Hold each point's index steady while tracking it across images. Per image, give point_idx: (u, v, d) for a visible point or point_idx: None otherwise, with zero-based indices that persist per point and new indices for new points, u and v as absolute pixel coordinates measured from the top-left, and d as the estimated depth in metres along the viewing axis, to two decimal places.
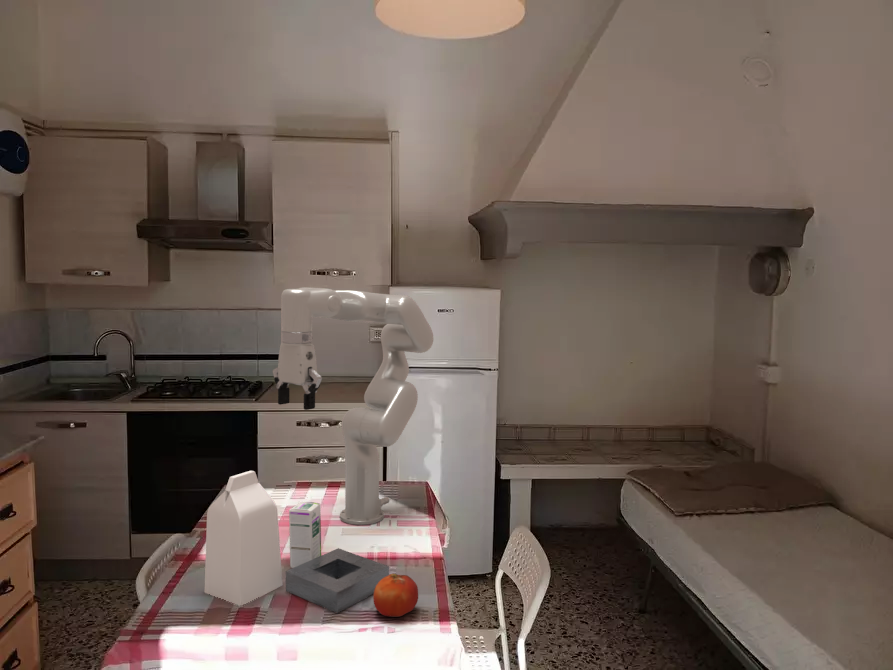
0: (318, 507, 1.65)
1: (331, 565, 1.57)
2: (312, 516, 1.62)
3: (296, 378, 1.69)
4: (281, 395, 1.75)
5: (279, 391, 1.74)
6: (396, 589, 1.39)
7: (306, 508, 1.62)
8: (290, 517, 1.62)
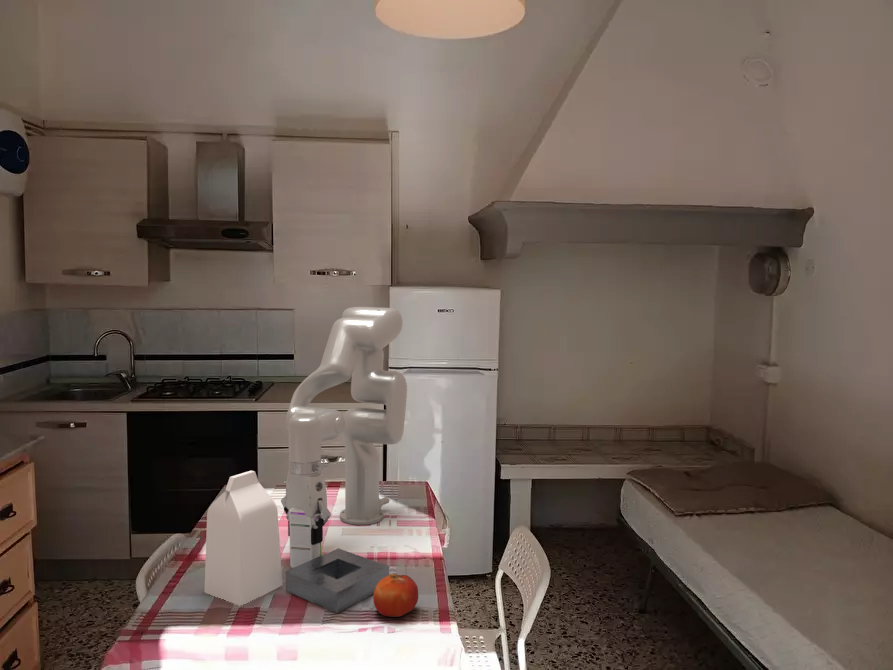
0: None
1: (331, 565, 1.57)
2: None
3: (305, 510, 1.61)
4: None
5: None
6: (396, 589, 1.39)
7: None
8: (290, 517, 1.62)
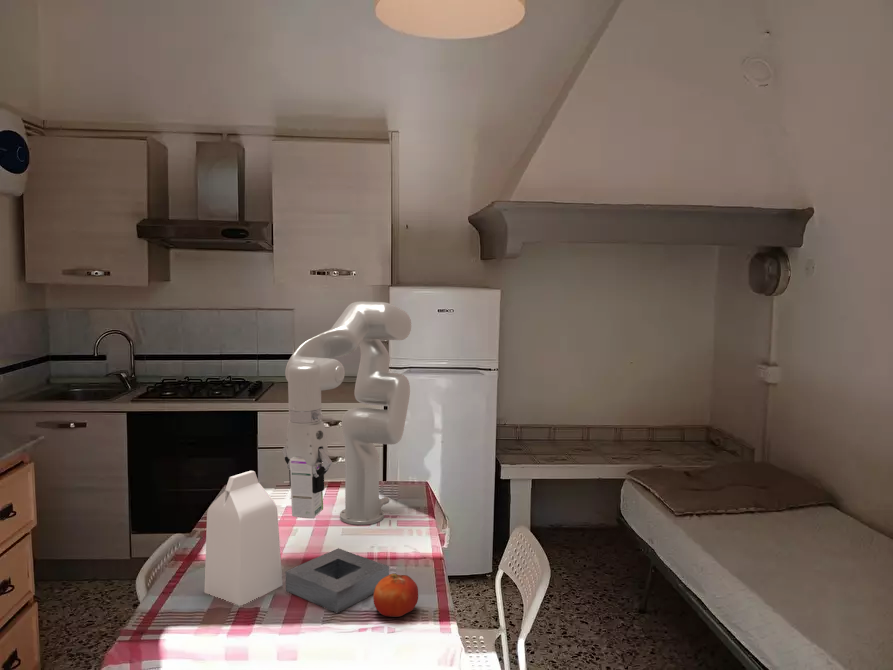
0: None
1: (331, 565, 1.57)
2: None
3: (306, 459, 1.60)
4: None
5: None
6: (396, 589, 1.39)
7: None
8: (291, 466, 1.61)
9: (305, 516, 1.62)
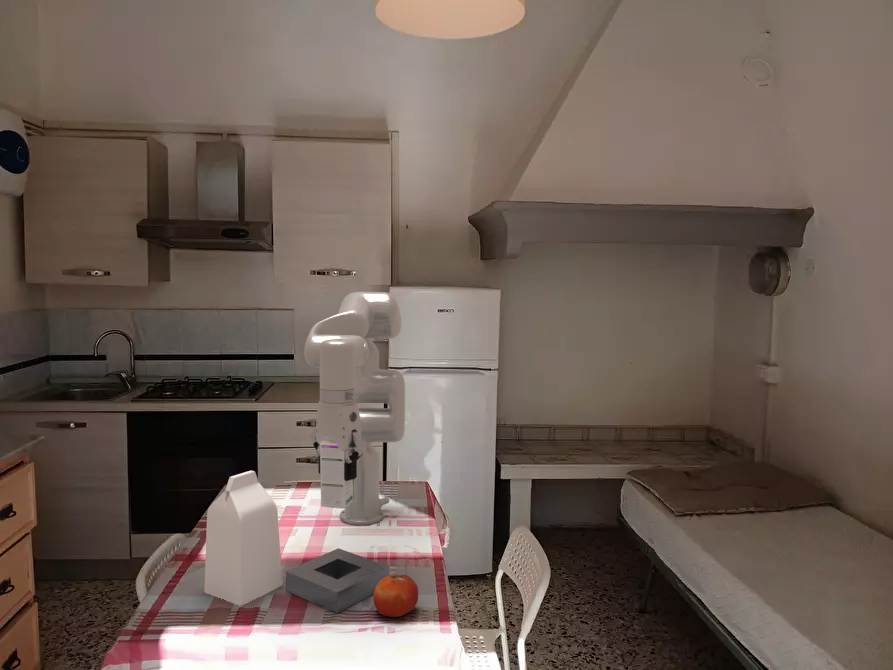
0: None
1: (331, 565, 1.57)
2: None
3: (338, 443, 1.47)
4: None
5: None
6: (396, 589, 1.39)
7: None
8: (321, 450, 1.48)
9: (335, 506, 1.49)
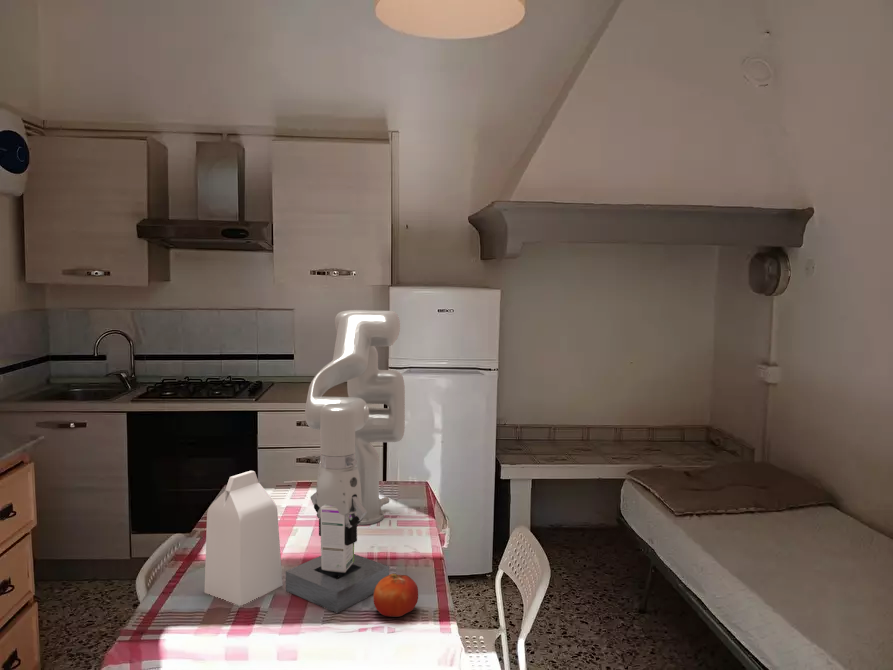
0: None
1: None
2: None
3: (338, 508, 1.48)
4: None
5: (320, 521, 1.53)
6: (396, 589, 1.39)
7: None
8: (321, 515, 1.49)
9: (336, 570, 1.50)
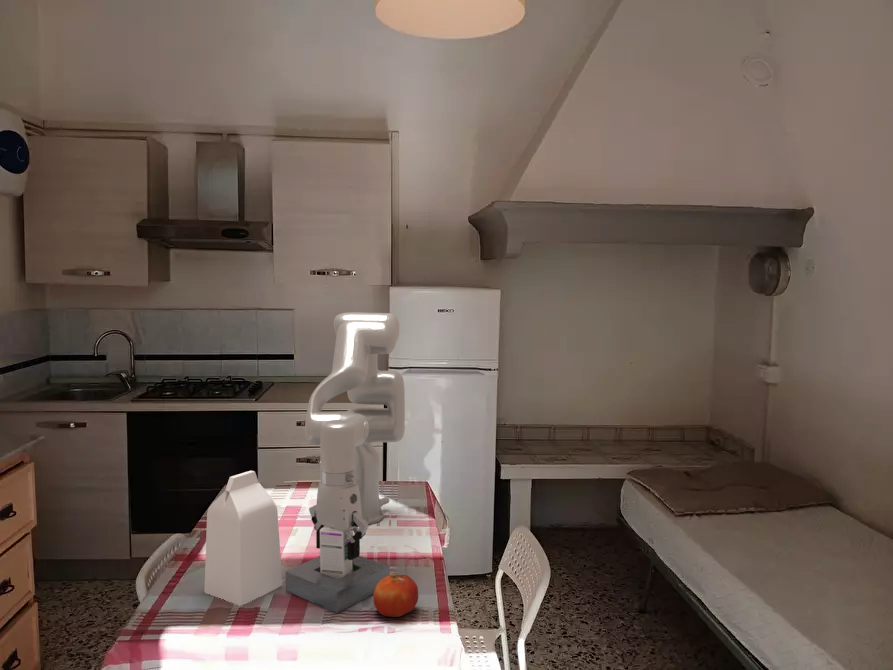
0: (350, 526, 1.53)
1: None
2: (344, 537, 1.49)
3: (338, 525, 1.49)
4: None
5: (318, 534, 1.54)
6: (396, 589, 1.39)
7: None
8: (321, 537, 1.50)
9: None
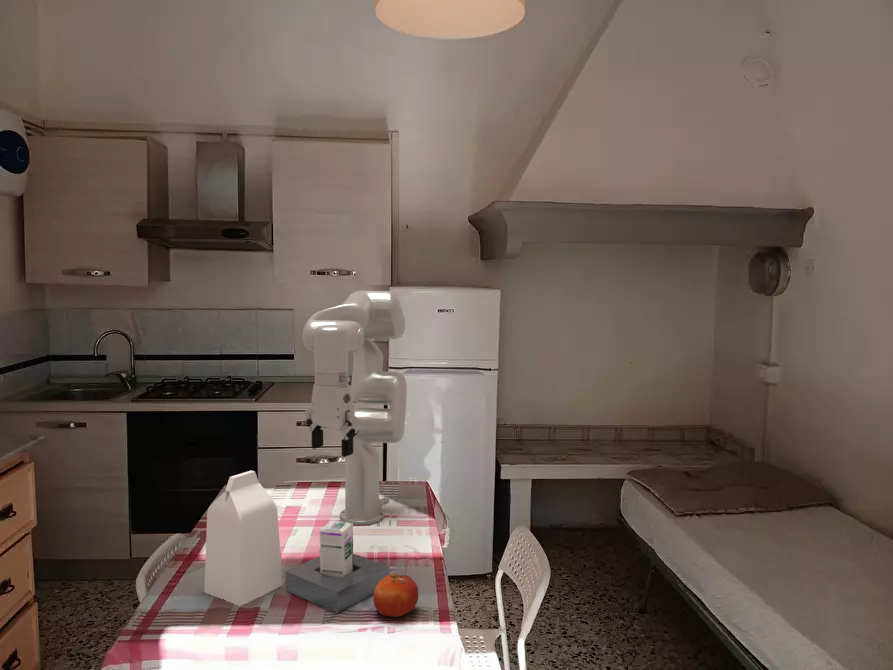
0: (350, 526, 1.53)
1: None
2: (344, 537, 1.49)
3: (333, 423, 1.56)
4: (315, 439, 1.61)
5: (313, 434, 1.61)
6: (396, 589, 1.39)
7: (338, 528, 1.50)
8: (321, 537, 1.50)
9: None
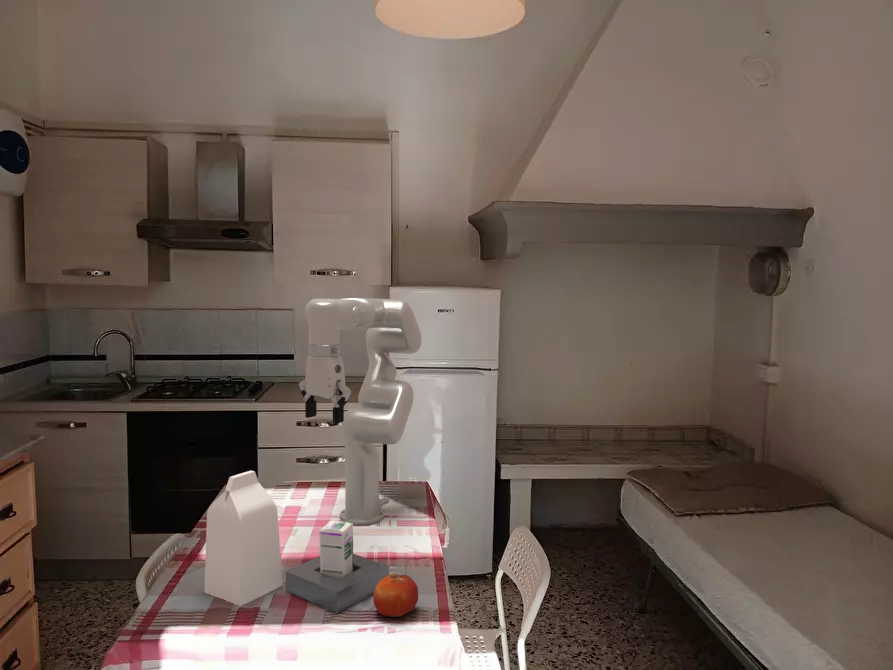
0: (350, 526, 1.53)
1: None
2: (344, 537, 1.49)
3: (325, 392, 1.67)
4: (308, 408, 1.73)
5: (306, 404, 1.72)
6: (396, 589, 1.39)
7: (338, 528, 1.50)
8: (321, 537, 1.50)
9: None
